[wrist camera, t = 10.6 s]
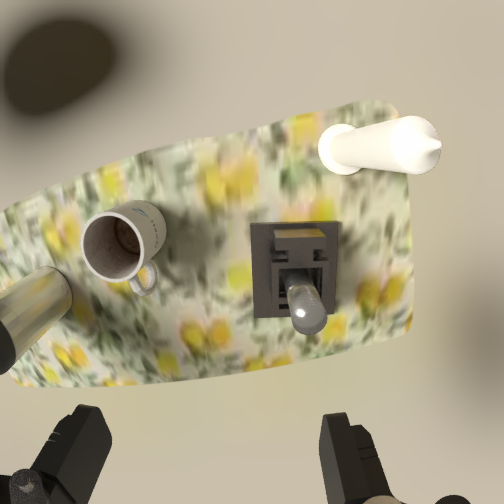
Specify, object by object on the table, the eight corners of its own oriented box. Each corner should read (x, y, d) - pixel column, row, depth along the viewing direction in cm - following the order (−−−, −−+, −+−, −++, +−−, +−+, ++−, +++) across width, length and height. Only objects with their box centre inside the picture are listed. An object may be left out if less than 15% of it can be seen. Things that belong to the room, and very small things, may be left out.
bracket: (254, 314, 48) (253, 339, 41) (250, 223, 44) (249, 235, 38) (332, 311, 48) (343, 334, 41) (336, 220, 44) (350, 232, 37)
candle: (367, 175, 42) (477, 199, 18) (318, 174, 42) (393, 196, 18) (366, 125, 40) (476, 101, 16) (317, 123, 40) (390, 85, 16)
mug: (107, 206, 44) (73, 219, 34) (160, 194, 43) (135, 205, 34) (126, 283, 47) (99, 312, 38) (177, 277, 47) (159, 306, 37)
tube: (281, 260, 45) (292, 304, 31) (307, 259, 45) (328, 302, 31) (282, 286, 46) (291, 337, 32) (307, 285, 46) (326, 335, 32)
